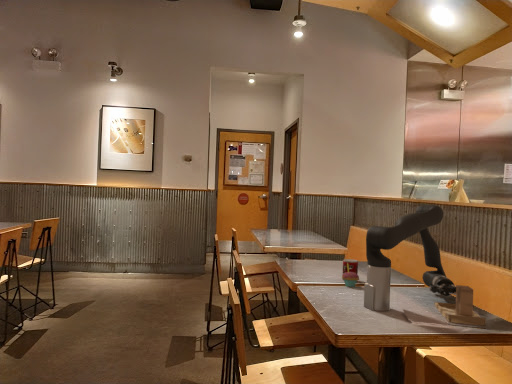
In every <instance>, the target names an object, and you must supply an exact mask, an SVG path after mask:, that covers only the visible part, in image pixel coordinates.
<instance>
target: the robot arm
mask: <svg viewBox="0 0 512 384" xmlns="http://www.w3.org/2000/svg"><path fill="white" fill-rule="evenodd" d="M443 218H444V210H443V208H442V207H441V206H440V205H436V204H419V205H418V206H417V207H416V209H415V212H411V213H408V214H405V215H402V216H400V217H398V218H397V219H396V221H395V223H394V226H383V225H382V226H381V225H380V226H379V225H371V226H370V227H369V228H368V229H367V230H366V234H365V255H366V257H365V258H366V261H367V263H366V264H367V265H366V266H367V268H366V270H367V271H366V282H364V285H363V287H364V289H363V307H364V308H367V309H369V310H371V311H380V312H385V311H389V310H390V308H391V307H390V305H391V277H392V261H391V259H390V258H388V257H387V256H386V255H384V254H383V253H382V250H384V251H388V250H392V249H394V248H395V247H397V246H398V245H399V244H400V243H402V242H403V241H404V240H406V239H408V238H410V237H412V236H415V235H416V234H418V233H419V234H420V235H419V236H420V239H421V243H422V246H423V247H422V248H423V254H424V255H423V256H424V263H425V266H426V267H429V268H435V269H436V270H427V271H425V272H423V273H422V281H423V283H424V284H425V285H426V286H427V287H429V291H430V292H431V293H433V294H436V293H437V294H439V295H441V296H444V297H449V296H451V295H454V296H456V284H454V282H453V281H452V280H451V279H450V278H449V277H447V275H446V272H445V270H444V267H443V264H442V259H441V251H440V246H439V244H438V243H437V242H436V240H435V239H434V237H433V236H432V235H431V233H430V231H429V228H430V227H434V226H436V225H439V224H440V223H441V222H442V221H443Z"/></svg>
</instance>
